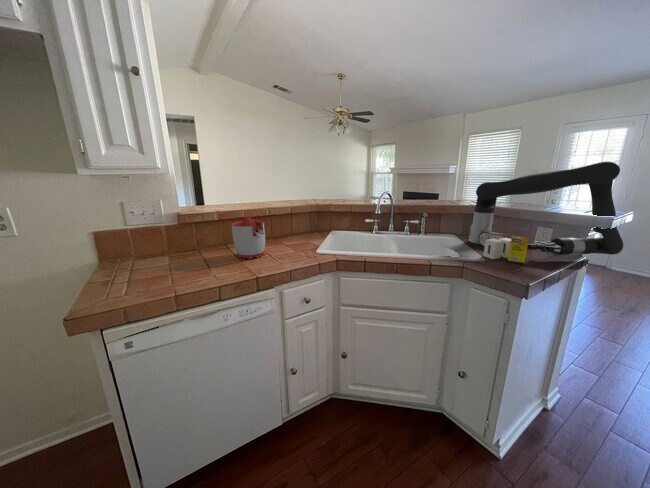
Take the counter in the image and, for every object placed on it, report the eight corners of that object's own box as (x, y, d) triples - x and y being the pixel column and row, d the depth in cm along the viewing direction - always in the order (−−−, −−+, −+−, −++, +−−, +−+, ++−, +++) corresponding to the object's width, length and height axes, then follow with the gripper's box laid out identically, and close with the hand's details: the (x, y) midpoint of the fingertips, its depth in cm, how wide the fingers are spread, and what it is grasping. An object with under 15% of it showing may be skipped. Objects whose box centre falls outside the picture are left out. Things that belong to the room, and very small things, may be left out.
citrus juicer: (250, 263, 116) (245, 220, 111) (228, 257, 127) (223, 217, 121) (276, 255, 128) (273, 215, 123) (254, 249, 139) (250, 212, 133)
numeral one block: (482, 256, 122) (485, 239, 119) (490, 254, 123) (493, 238, 121) (492, 259, 117) (495, 242, 115) (500, 257, 119) (503, 241, 117)
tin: (510, 251, 129) (513, 234, 126) (507, 252, 127) (510, 235, 125) (479, 244, 141) (481, 229, 139) (476, 245, 139) (478, 230, 137)
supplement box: (524, 264, 109) (529, 240, 107) (507, 262, 113) (511, 238, 110) (523, 260, 114) (528, 237, 111) (507, 258, 117) (511, 235, 115)
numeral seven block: (495, 254, 123) (498, 238, 121) (503, 253, 125) (506, 237, 122) (505, 258, 118) (508, 241, 116) (513, 256, 120) (516, 240, 118)
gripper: (555, 234, 117) (517, 235, 117) (583, 242, 104) (541, 242, 104) (552, 250, 119) (514, 250, 119) (579, 259, 106) (537, 259, 106)
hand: (527, 246), depth 112 cm, fingers closed
